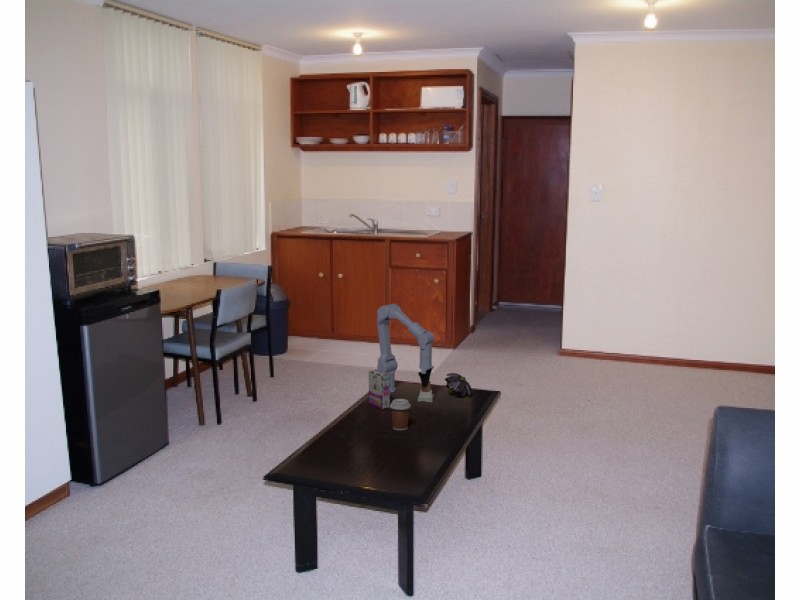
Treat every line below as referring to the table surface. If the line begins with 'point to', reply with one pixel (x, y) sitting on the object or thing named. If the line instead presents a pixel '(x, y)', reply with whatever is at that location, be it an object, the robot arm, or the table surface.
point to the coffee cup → (400, 413)
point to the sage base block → (425, 398)
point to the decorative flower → (458, 384)
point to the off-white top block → (426, 394)
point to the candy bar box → (379, 389)
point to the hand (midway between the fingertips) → (425, 384)
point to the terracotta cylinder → (426, 389)
